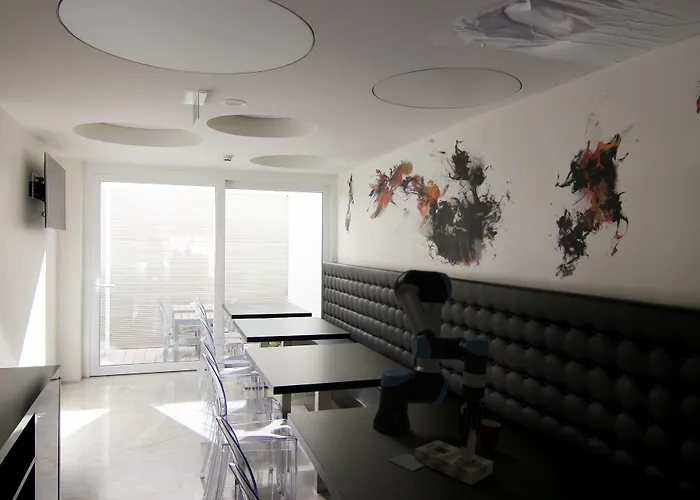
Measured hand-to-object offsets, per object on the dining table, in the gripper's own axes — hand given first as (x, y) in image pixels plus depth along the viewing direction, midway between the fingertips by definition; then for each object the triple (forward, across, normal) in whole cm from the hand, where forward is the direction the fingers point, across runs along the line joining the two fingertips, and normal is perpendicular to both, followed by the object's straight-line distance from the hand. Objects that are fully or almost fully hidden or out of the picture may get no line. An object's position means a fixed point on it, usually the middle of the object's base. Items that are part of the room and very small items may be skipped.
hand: (467, 455), depth 166 cm
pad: (+6, -10, +16) cm, 20 cm away
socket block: (+6, 0, +5) cm, 8 cm away
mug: (+6, +24, +5) cm, 26 cm away
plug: (+6, 0, 0) cm, 6 cm away
